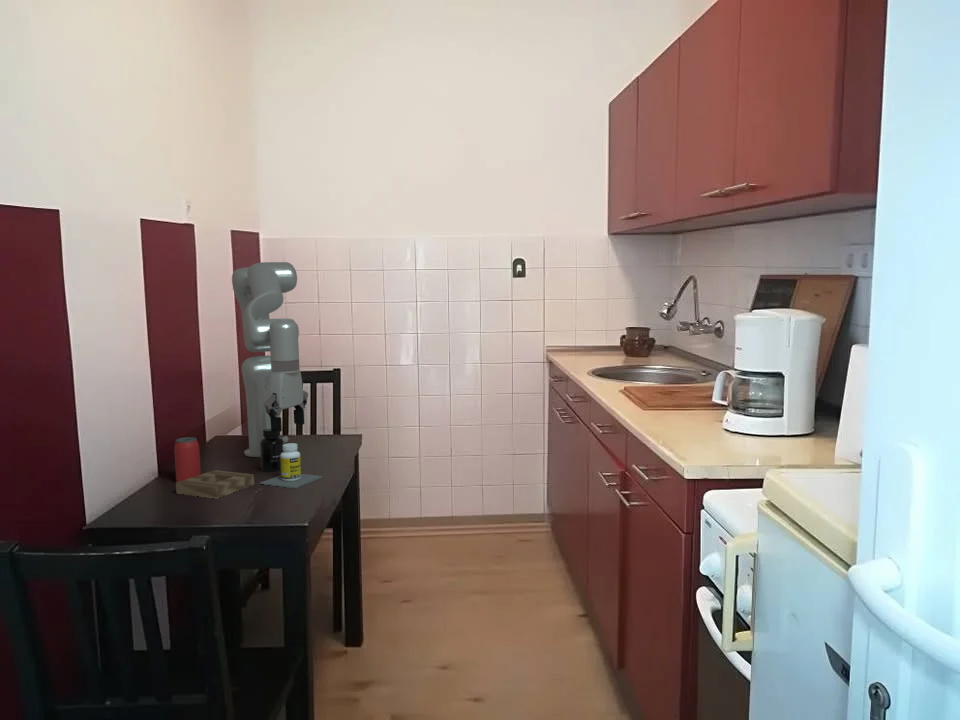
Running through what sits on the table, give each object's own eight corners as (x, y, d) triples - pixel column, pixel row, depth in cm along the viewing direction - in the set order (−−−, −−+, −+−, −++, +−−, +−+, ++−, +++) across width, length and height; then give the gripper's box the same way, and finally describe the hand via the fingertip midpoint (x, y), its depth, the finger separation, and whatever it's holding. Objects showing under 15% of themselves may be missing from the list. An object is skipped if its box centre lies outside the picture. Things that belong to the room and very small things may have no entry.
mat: (288, 474, 219) (288, 472, 219) (322, 477, 214) (322, 476, 214) (259, 484, 208) (259, 482, 208) (294, 488, 203) (294, 487, 203)
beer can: (206, 478, 216) (203, 437, 215) (190, 484, 210) (187, 442, 209) (187, 477, 218) (184, 436, 217) (171, 483, 212) (168, 441, 211)
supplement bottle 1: (278, 472, 221) (276, 432, 220) (257, 472, 223) (254, 431, 221) (289, 466, 228) (287, 427, 227) (268, 466, 229) (265, 427, 228)
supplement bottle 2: (291, 482, 208) (289, 447, 207) (277, 480, 211) (275, 445, 210) (305, 478, 212) (303, 443, 211) (291, 475, 215) (289, 441, 214)
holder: (215, 480, 214) (214, 470, 214) (254, 485, 208) (253, 474, 208) (176, 493, 201) (175, 482, 201) (216, 499, 195) (215, 487, 195)
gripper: (294, 361, 217) (297, 420, 220) (252, 369, 202) (256, 433, 204) (316, 363, 214) (318, 422, 216) (275, 371, 199) (278, 435, 201)
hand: (288, 427), depth 210 cm, fingers open, 9 cm apart
